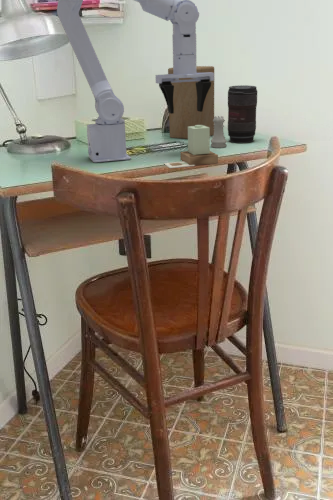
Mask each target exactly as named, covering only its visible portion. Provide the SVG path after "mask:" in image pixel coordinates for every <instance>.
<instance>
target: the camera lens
mask: <svg viewBox="0 0 333 500" xmlns="http://www.w3.org/2000/svg"><path fill="white" fill-rule="evenodd" d="M257 105H258V89H257V86H255V85H249V84H248V85H246V84H245V85H242V84H241V85H240V84H239V85H231V86H228V90H227V111H228V112H227V134H228V136H229V142H231V143H235V144H243V143H244V144H245V143H253V142H254V137H255V136H256V128H257Z"/></svg>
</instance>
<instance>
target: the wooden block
mask: <svg viewBox="0 0 333 500" xmlns="http://www.w3.org/2000/svg"><path fill="white" fill-rule="evenodd" d="M196 72H197V73H207V72H212V73H214V74H215V66H213V65H212V66H211V65H208V66H206V65H205V66H204V65H201V66H198V65H196ZM167 74H173V67H168V69H167ZM189 79H193V78H179V80H189ZM196 82H199V81H193V82H174V83H171V84H172V85H173V86H174V92H173V106H174V113H173V114H170V113H169V112H168V116H169V117H168V119H169V121H168V123H169V138H170V139H180V140H188V127H189V126H195V125H204V126H206V127H209V128H210V137H211V136H212V137H213V135H214V122H213V119H214V117H215V80H214V81H210V82H211V87H210V89H209V91H208V93H207V95H206V98H205V101H204V106H203V111H202V112H199V111H197V90H196Z"/></svg>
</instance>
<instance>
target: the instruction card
mask: <svg viewBox="0 0 333 500" xmlns="http://www.w3.org/2000/svg"><path fill="white" fill-rule="evenodd" d="M164 164H165V166H166V167H167V168H169V169H175V168H188V167H195V166H196V165H189V164H188V163H186V162H184V161H175V162H164V163H163V165H164Z"/></svg>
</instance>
